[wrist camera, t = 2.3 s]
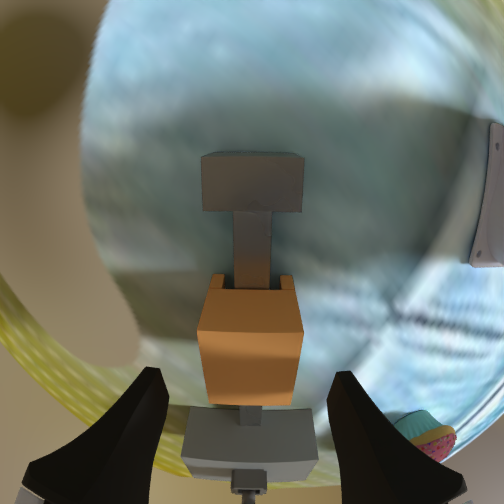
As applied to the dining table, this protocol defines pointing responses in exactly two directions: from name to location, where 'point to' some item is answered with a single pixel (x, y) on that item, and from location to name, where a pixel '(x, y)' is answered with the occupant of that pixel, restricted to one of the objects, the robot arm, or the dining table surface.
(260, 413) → the rail
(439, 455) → the cupcake
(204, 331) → the carriage
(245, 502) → the plunger
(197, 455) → the button box
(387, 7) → the dining table surface
